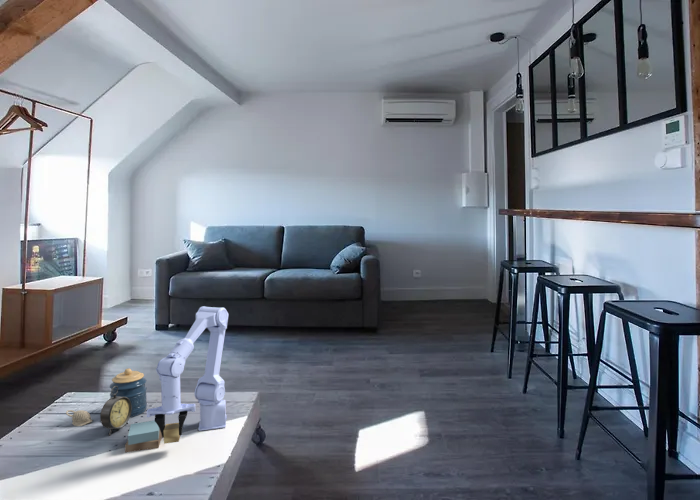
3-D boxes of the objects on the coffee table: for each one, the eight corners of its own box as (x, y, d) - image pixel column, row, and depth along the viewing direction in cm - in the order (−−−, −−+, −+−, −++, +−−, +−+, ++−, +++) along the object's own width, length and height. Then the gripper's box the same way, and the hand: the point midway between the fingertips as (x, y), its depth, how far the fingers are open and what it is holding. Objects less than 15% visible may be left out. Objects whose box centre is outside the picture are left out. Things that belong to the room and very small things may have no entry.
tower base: (163, 435, 146) (163, 427, 146) (158, 449, 136) (158, 440, 136) (132, 439, 143) (132, 430, 143) (125, 454, 133) (125, 445, 133)
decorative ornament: (87, 426, 152) (86, 412, 151) (64, 426, 152) (64, 412, 151) (94, 421, 156) (93, 407, 155) (72, 421, 156) (71, 407, 155)
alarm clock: (110, 438, 143) (109, 392, 142) (97, 436, 144) (96, 391, 143) (133, 423, 154) (132, 381, 153) (120, 422, 155) (119, 380, 154)
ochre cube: (180, 435, 136) (180, 422, 136) (178, 441, 132) (178, 428, 132) (166, 437, 135) (165, 424, 135) (163, 443, 131) (163, 430, 131)
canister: (145, 402, 172) (144, 361, 172) (148, 414, 161) (147, 370, 160) (110, 409, 166) (108, 366, 165) (110, 422, 155) (109, 376, 154)
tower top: (159, 427, 145) (159, 419, 145) (158, 439, 137) (158, 430, 137) (131, 432, 142) (130, 424, 142) (128, 445, 133) (128, 436, 133)
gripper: (144, 402, 127) (145, 444, 128) (193, 396, 131) (194, 437, 132) (148, 393, 134) (149, 433, 134) (195, 388, 138) (196, 427, 138)
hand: (172, 434), depth 133 cm, fingers closed on ochre cube, 4 cm apart
